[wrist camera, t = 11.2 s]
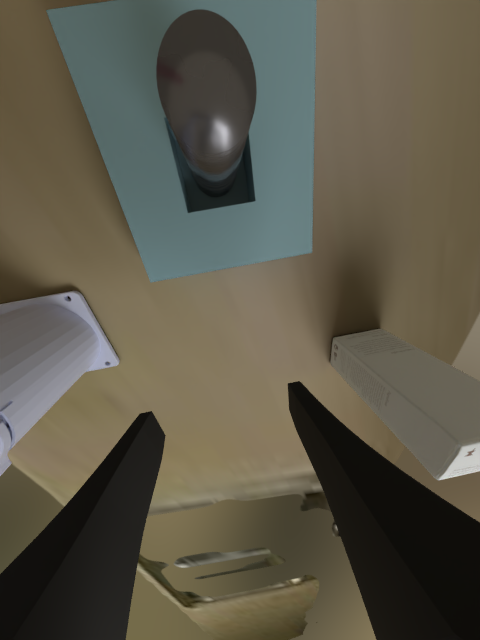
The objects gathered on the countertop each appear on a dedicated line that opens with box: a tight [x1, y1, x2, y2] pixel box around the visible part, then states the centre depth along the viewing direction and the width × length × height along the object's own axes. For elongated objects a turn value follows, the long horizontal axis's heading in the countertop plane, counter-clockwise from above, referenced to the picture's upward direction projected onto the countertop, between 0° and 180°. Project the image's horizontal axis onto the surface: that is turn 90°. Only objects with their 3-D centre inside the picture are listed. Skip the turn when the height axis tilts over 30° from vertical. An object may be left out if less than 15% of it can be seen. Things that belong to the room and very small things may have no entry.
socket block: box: [46, 0, 316, 282], centre depth 12 cm, size 12×12×3 cm
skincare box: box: [330, 329, 480, 480], centre depth 16 cm, size 6×4×12 cm
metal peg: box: [156, 9, 257, 197], centre depth 9 cm, size 3×3×8 cm
